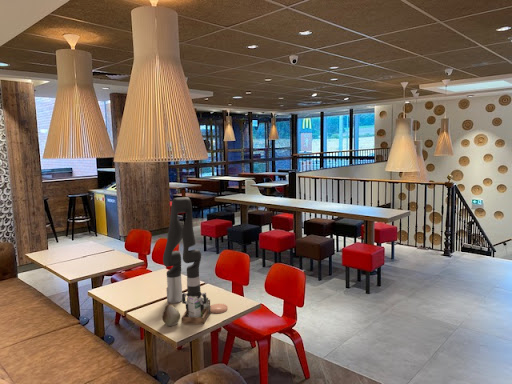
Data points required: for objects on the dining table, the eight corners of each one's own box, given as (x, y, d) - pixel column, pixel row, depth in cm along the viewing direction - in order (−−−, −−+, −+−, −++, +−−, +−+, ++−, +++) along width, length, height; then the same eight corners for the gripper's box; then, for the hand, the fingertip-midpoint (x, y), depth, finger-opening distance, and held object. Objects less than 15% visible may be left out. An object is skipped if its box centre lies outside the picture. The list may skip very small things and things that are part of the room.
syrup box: (195, 321, 221) (193, 298, 219) (188, 319, 225) (187, 295, 223) (202, 318, 225) (201, 294, 223) (196, 315, 229) (194, 292, 227)
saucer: (206, 313, 231) (206, 311, 231) (210, 305, 243) (210, 303, 243) (225, 313, 230) (225, 311, 230) (229, 305, 242) (229, 303, 242)
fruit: (174, 318, 226) (172, 299, 224) (184, 322, 220) (183, 303, 218) (159, 325, 218) (158, 305, 217) (170, 329, 212) (168, 309, 211)
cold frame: (181, 323, 219) (180, 307, 218) (188, 312, 233) (187, 297, 232) (206, 323, 218) (205, 307, 217) (211, 313, 232) (210, 297, 230)
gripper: (179, 286, 219) (181, 312, 221) (204, 285, 218) (205, 313, 220) (183, 281, 226) (184, 307, 228) (206, 281, 225) (208, 307, 227)
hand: (195, 310), depth 224 cm, fingers closed on syrup box, 8 cm apart
